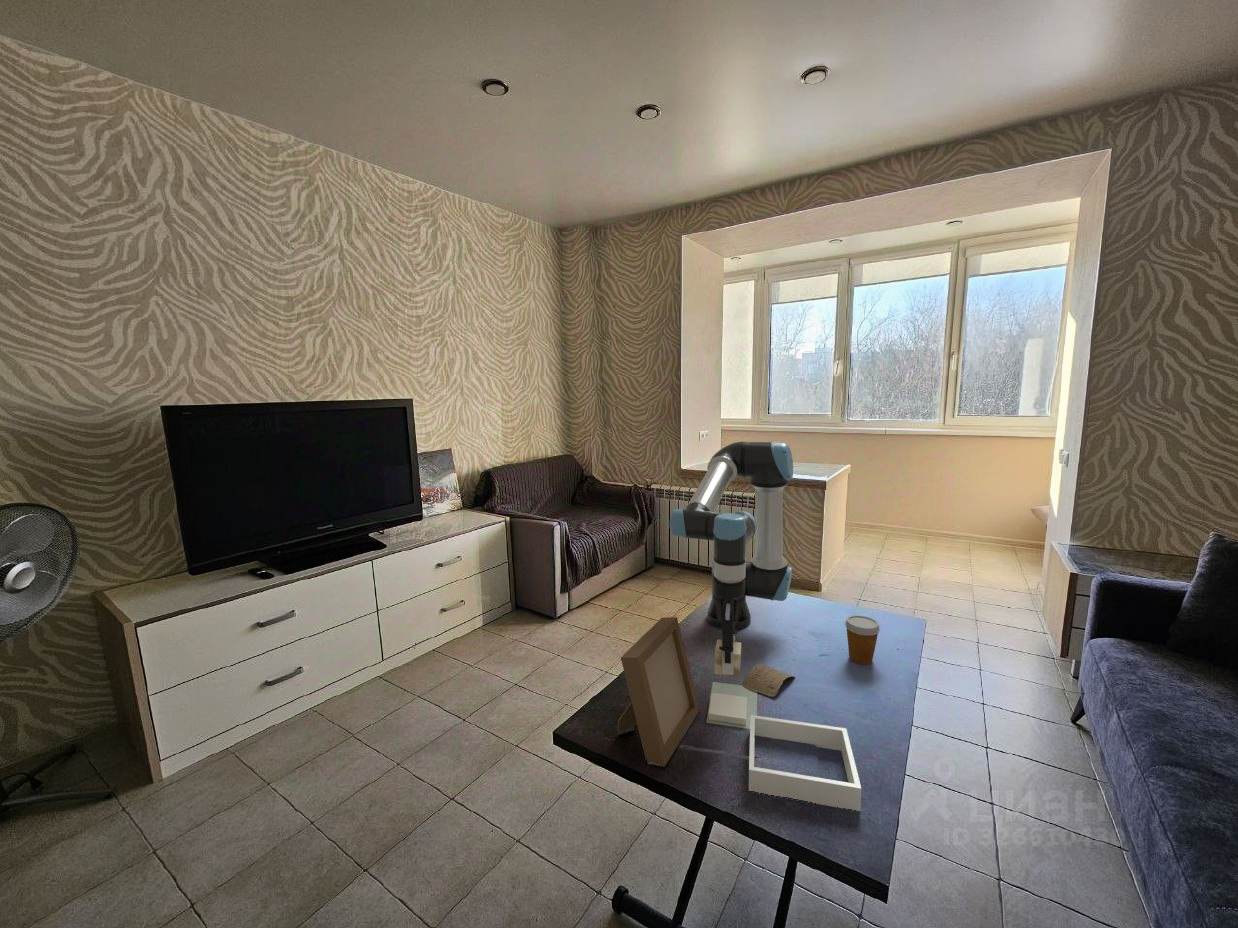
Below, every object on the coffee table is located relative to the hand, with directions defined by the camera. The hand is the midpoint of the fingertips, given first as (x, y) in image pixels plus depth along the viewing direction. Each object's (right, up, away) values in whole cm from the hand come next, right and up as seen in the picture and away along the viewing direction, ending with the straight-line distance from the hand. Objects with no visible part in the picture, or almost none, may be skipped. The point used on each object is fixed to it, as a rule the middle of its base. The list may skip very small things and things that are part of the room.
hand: (728, 666), depth 127 cm
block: (0, -1, 0) cm, 1 cm away
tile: (+2, -11, +6) cm, 12 cm away
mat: (+2, -12, +5) cm, 14 cm away
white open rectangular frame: (+12, -15, -17) cm, 26 cm away
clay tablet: (+15, -11, +15) cm, 23 cm away
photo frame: (-19, -14, -4) cm, 24 cm away
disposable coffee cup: (+45, -9, +26) cm, 53 cm away
